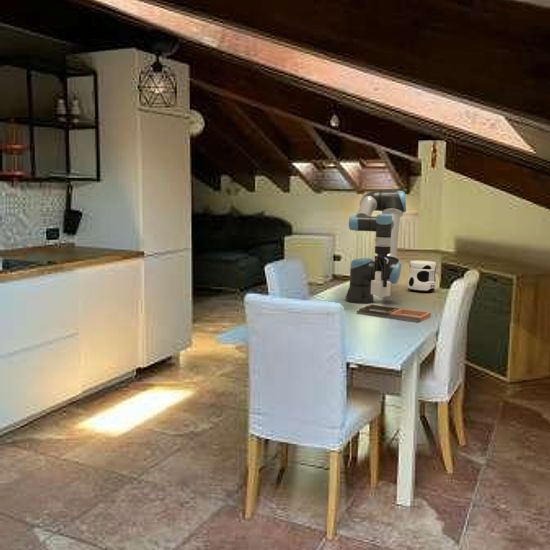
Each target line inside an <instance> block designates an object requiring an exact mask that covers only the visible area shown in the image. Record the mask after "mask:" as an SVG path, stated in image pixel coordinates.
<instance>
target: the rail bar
mask: <svg viewBox="0 0 550 550" xmlns="http://www.w3.org/2000/svg"><path fill="white" fill-rule="evenodd" d="M356 314H357V315H363V316H371V317H377V318H385V319H389V320H390V319H391V320H398V321H405V322H409V323H410V322H412V323H421V322H420V319H413V318H407V317H400V316H393V315H386V314H379V313H372V312H365V311H359V310H357V311H356Z"/></svg>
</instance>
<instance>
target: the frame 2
mask: <svg viewBox="0 0 550 550" xmlns="http://www.w3.org/2000/svg"><path fill="white" fill-rule="evenodd" d="M431 314H432V312H430V311H429V312H428V311H422V310H421V311H420V310H413V309H408V308H407V309H406V308H399V310H397V311H394V312H392V313H390V315H393V316H400V317H407V318H413V319H420V322H419V323H421V322H422V321H424V320H427V319H429V318H430V317H431V316H432V315H431Z"/></svg>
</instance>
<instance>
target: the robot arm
mask: <svg viewBox="0 0 550 550" xmlns="http://www.w3.org/2000/svg"><path fill="white" fill-rule="evenodd" d="M406 201H407V200H406V193H405V191H404V190H389V189H388V190H385V189H384V190H383V189H375V190H372V191H370V192H367V193H366V194H364V195H363V196H362V197H361V199H360V201H359V208H358V210H357V212H356V215H350V216H349V219H348V229H349V230H350V231H353V232H354V231H355V232H375V239H374V241H375V246H374V254H376V255H374V260H373V258H371V257H363V258H362V257H361V258H355V259H352V260H351V261H350V267H349V270H350V273H349V287H348V290H347V292H346V294H345V301H347V302H350V303H355V304H371V303H374V300H375V297H374V295H372V294H371V280H375V272H376V271H382V279H381V294H387V281H389V282H391V285H395V284H398V282H399V279H400V277H401V271H402V263H401V262H400V259H399V258H398V255H397V254H398V244H399V243H398V242H399V232H400V222H401V217H403V216H404V213H405V212H407V203H406ZM373 212H381V213H378V214H377V215H376V216H372V215H373Z"/></svg>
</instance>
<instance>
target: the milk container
mask: <svg viewBox="0 0 550 550" xmlns="http://www.w3.org/2000/svg"><path fill="white" fill-rule="evenodd" d="M408 268H409V269H408V271H409V273H408V278H407V281H406V287H407V289H408V290H410V291H412V292H418V293H431V292H434V291H435V290H436V288H437V280H436V272H437V270H436V268H437V262H435V261H433V260H432V261H431V260H417V259H416V260H410V261H409V267H408Z"/></svg>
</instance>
